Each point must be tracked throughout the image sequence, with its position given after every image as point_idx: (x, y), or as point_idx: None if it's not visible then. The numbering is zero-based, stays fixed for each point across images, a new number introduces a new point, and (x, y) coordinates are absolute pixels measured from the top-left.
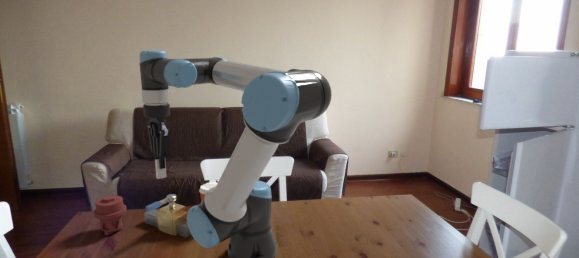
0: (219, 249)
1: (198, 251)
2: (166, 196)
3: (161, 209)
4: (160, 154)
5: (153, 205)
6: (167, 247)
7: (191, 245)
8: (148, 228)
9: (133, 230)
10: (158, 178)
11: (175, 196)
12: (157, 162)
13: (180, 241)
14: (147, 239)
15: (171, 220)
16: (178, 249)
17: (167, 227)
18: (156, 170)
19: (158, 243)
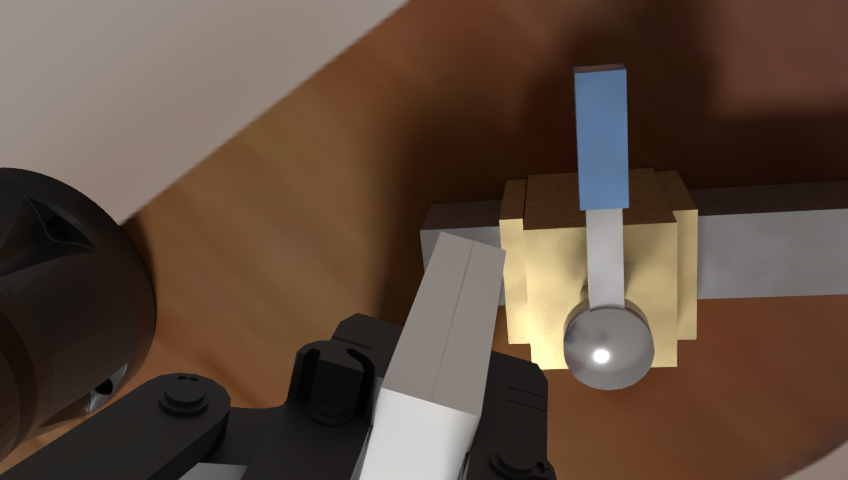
0: (177, 219)
1: (249, 137)
2: (639, 322)
3: (655, 235)
4: (111, 425)
5: (580, 129)
6: (434, 57)
7: (333, 159)
8: (758, 142)
9: (839, 60)
10: (438, 239)
11: (566, 362)
12: (393, 359)
13: (425, 153)
14: (634, 41)
15: (527, 210)
16: (359, 83)
17: (576, 186)
18: (467, 291)
19: (524, 53)
